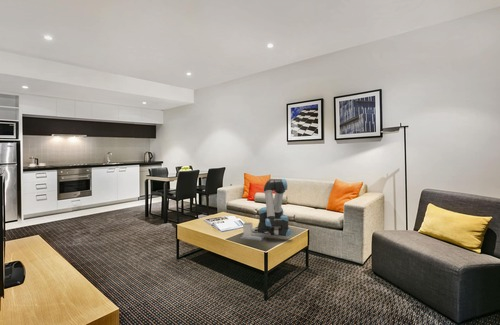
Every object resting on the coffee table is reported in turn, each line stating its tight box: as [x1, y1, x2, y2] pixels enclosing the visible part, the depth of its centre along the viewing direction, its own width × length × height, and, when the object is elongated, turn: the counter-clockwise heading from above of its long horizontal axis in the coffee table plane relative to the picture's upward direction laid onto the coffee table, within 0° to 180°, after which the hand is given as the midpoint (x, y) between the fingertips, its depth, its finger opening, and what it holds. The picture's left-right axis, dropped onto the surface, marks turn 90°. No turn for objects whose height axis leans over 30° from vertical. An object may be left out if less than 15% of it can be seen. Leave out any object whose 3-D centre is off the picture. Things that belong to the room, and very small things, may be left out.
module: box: [242, 222, 254, 236], centre depth 263 cm, size 6×8×13 cm
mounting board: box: [239, 232, 267, 242], centre depth 262 cm, size 16×22×2 cm
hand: (251, 229), depth 261 cm, fingers closed
